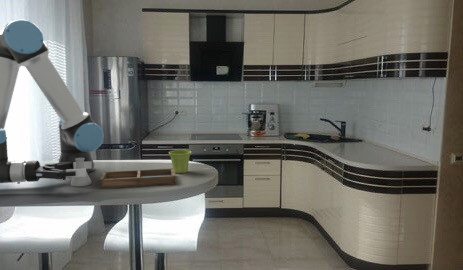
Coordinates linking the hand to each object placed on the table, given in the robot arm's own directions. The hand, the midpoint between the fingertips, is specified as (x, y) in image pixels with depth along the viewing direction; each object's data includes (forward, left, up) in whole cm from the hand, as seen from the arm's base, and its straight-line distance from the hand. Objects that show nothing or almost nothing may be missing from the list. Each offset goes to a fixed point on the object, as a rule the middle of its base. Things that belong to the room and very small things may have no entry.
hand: (88, 168), depth 141 cm
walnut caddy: (0, +18, -6) cm, 19 cm away
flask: (0, -3, -6) cm, 7 cm away
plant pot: (-13, +35, -6) cm, 38 cm away
